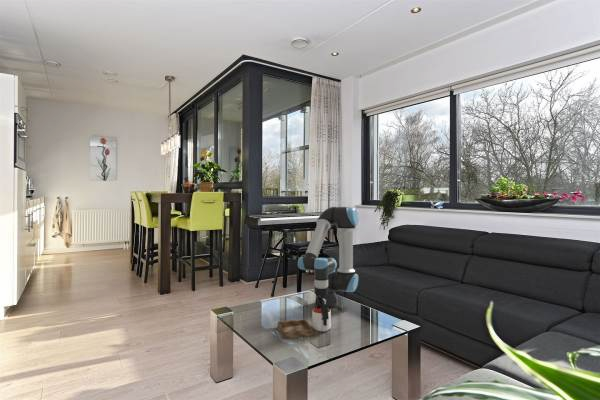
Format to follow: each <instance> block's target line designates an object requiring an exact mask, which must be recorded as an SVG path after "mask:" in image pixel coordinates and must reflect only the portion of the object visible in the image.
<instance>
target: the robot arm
mask: <svg viewBox="0 0 600 400" xmlns="http://www.w3.org/2000/svg"><path fill="white" fill-rule="evenodd" d="M334 225H335V226H336V228H337V229H338V232H339V237H338V239H339V241H338V242H339V251H338V252H339V253H338V254H339V255H338V256H339V257H338V258H339V261H338V262H339V267H338V268H337V266H338V263H337V261H336V259H335V258H333V257H327V258H326V257H319V254H320V251H321V249H322V246H323V245H324V241H325V239H326V236H327V233H328V231H329V230H330V229H331V227H332V226H334ZM358 225H359V214H358V211H357V209H356V208H355V207H354V206H353V207H351V206H331V207H328V208H326V209H325V210H324V211H322V212H321V214H320V215H319V216H318V218H317V220H316V227H315V229H314V232H313V233H312V234H313V235H312V237H311V239H310V242H309V244H308V246H307V249H306V251H305V254H304V256H300V257H298V260H297V267H298V268H299V269H300V270H303V271H313V272H314V281H313V283H314V288H313V289H314V294H315V300H314V302H315V303H314V305H315V306H314V309H315V308H317V309H320V308H321V312H322V319H321V320H322V331H321V332H328V330H327V319H329V317H328V309H330V308H331V309H333V308H336V307H338V306H339V301H338V300H339V299H338V298H337V294H336V291H338V292H346V293H353V292H355V291H356V290H357V288H358V286H359V275H358V274H357V273H356V269H354V230H356V226H358ZM336 269H337V270H336Z"/></svg>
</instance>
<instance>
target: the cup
mask: <svg viewBox="0 0 600 400" xmlns="http://www.w3.org/2000/svg"><path fill="white" fill-rule="evenodd" d="M331 311H332V310H331V309H330V308H328V317H329V319H327V331H329V330H331V328H332V326H331V324H332V321H331V320H332V318H331V317H332V316H331V314H332V312H331ZM311 312H312V313H311V314H312V315H311V316H312V318H311V319H312V320H311V322H312V323H311V324H312V326H311V327H312V329H313V331H316V332H323V331H322V320H321V319H322V312H321V308H320V309H317V308H315V307H314V308H313V309H312V311H311Z"/></svg>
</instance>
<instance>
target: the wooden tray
mask: <svg viewBox="0 0 600 400" xmlns="http://www.w3.org/2000/svg"><path fill="white" fill-rule="evenodd" d="M277 329H278V331H279V333H280V335H281V338H282V339H283V340H286V339H287V340H288V339H293V338H294V339H296V338H303V337H313V336H314V329H313V327H312V326H311V325H310V324H309V322H308V321H307V319H306V318H304V319H302V318H301V319H292V320H284V321H277Z"/></svg>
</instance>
